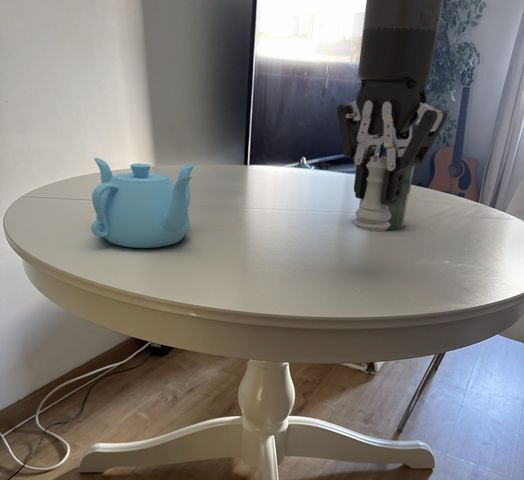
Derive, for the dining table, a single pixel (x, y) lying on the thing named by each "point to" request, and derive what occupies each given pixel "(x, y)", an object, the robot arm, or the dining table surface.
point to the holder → (399, 203)
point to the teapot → (141, 207)
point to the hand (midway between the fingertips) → (375, 200)
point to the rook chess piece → (374, 198)
